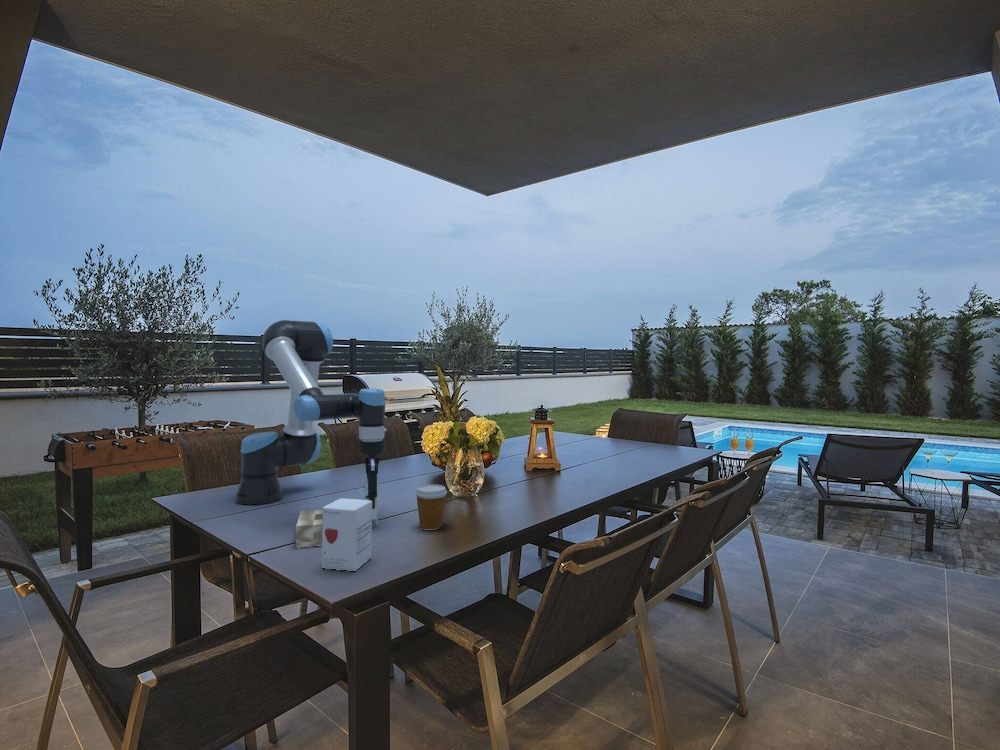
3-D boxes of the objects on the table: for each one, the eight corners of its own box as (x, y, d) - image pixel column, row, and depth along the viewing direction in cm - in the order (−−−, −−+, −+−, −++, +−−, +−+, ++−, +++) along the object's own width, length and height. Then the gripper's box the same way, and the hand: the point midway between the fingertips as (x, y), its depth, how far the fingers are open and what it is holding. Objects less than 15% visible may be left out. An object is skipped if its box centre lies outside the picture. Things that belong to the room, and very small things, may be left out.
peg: (364, 527, 152) (365, 481, 151) (364, 523, 156) (364, 478, 155) (378, 526, 153) (378, 480, 153) (377, 522, 157) (378, 477, 156)
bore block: (295, 548, 134) (296, 526, 134) (300, 531, 148) (300, 511, 147) (351, 543, 138) (351, 521, 138) (350, 527, 152) (350, 507, 151)
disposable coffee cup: (432, 535, 146) (433, 493, 146) (408, 529, 151) (408, 488, 151) (453, 526, 154) (453, 486, 154) (428, 520, 159) (429, 482, 159)
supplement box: (320, 569, 121) (320, 507, 121) (339, 555, 130) (340, 497, 129) (355, 573, 119) (355, 509, 119) (372, 558, 128) (373, 499, 128)
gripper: (386, 444, 146) (386, 524, 146) (382, 435, 164) (382, 506, 164) (359, 445, 144) (359, 526, 144) (358, 435, 162) (358, 508, 162)
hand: (371, 515), depth 154 cm, fingers open, 6 cm apart
